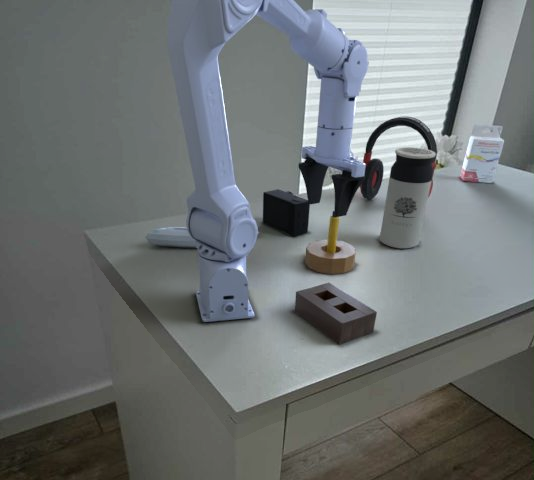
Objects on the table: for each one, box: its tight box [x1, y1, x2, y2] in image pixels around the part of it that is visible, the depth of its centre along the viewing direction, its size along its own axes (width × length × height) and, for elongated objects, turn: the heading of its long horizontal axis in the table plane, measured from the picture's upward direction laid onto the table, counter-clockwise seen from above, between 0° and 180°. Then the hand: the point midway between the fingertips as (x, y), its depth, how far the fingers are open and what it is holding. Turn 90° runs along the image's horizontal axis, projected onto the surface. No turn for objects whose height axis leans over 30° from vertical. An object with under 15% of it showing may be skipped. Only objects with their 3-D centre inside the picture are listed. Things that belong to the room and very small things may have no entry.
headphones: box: [359, 115, 438, 200], centre depth 119 cm, size 18×10×20 cm, turn 58°
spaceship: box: [144, 226, 260, 248], centre depth 98 cm, size 23×7×4 cm, turn 107°
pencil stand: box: [294, 282, 378, 345], centre depth 74 cm, size 6×11×4 cm, turn 33°
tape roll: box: [304, 239, 357, 275], centre depth 92 cm, size 9×9×3 cm
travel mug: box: [379, 146, 436, 249], centre depth 98 cm, size 8×8×18 cm
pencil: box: [327, 210, 340, 253], centre depth 90 cm, size 2×2×10 cm
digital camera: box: [262, 188, 311, 238], centre depth 106 cm, size 10×5×7 cm, turn 40°
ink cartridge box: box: [459, 124, 505, 184], centre depth 142 cm, size 9×5×15 cm, turn 82°
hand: (326, 209), depth 87 cm, fingers open, 7 cm apart
